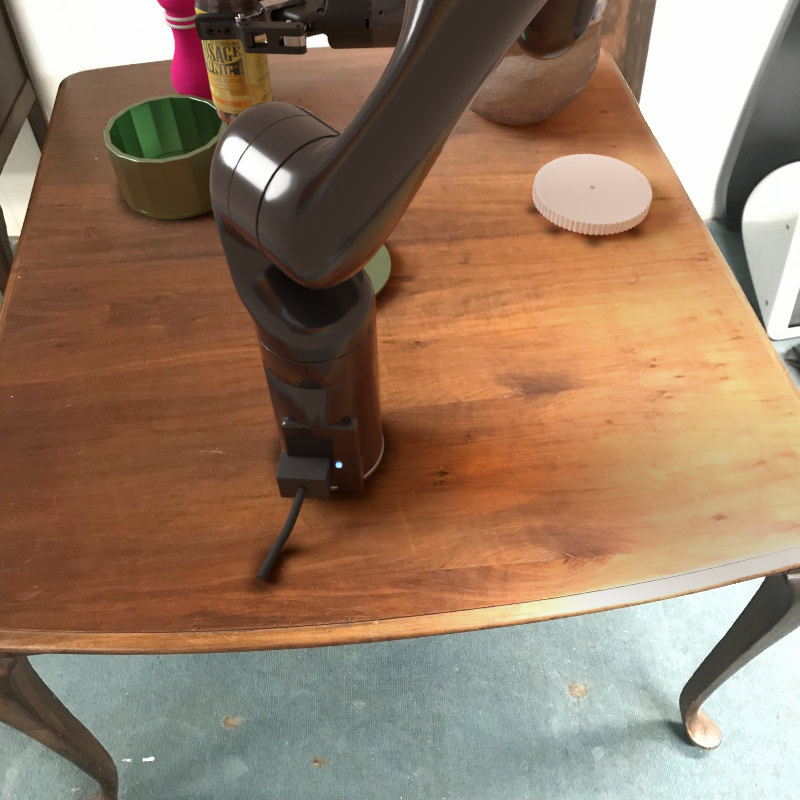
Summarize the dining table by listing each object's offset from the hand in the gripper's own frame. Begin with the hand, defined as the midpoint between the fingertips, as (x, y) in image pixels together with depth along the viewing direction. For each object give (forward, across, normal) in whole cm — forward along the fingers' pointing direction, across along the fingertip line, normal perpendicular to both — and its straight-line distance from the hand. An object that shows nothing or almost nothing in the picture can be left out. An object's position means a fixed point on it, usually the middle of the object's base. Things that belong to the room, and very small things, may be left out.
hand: (202, 10), depth 74 cm
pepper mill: (+9, -25, +25) cm, 36 cm away
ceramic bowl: (-34, -24, +25) cm, 49 cm away
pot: (+9, -7, +25) cm, 27 cm away
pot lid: (-10, +10, +24) cm, 28 cm away
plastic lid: (-42, -1, +25) cm, 49 cm away
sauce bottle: (-2, 0, +11) cm, 11 cm away
